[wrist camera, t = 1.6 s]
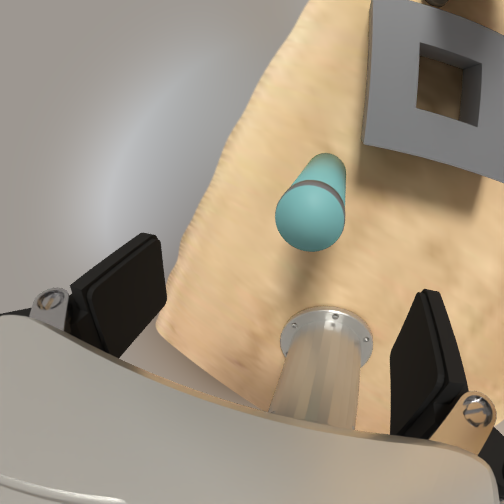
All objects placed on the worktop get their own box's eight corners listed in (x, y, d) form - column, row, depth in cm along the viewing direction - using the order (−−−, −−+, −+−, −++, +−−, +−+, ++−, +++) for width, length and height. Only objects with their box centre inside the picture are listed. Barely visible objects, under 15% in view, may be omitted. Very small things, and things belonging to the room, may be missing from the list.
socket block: (483, 171, 23) (503, 183, 18) (360, 139, 26) (363, 144, 22) (494, 49, 16) (515, 41, 12) (369, 10, 19) (372, -8, 15)
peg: (343, 195, 29) (337, 258, 17) (304, 188, 30) (271, 245, 18) (349, 156, 27) (350, 192, 15) (308, 149, 28) (277, 180, 16)
